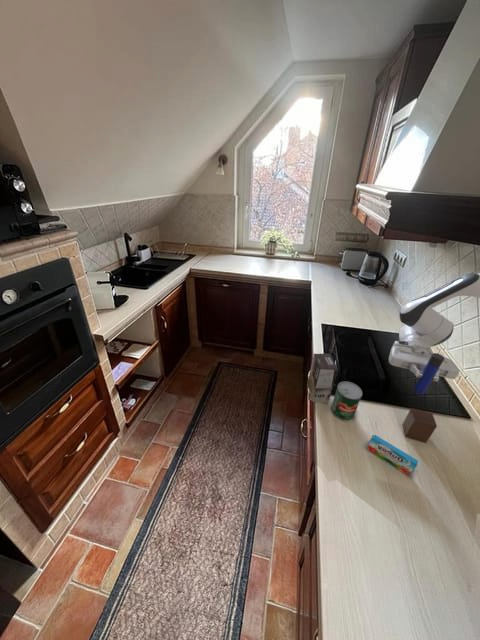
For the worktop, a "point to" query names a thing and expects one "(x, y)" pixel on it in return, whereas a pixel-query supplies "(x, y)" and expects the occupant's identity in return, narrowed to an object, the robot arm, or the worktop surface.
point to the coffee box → (322, 377)
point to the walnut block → (419, 425)
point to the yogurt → (392, 455)
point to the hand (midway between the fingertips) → (427, 377)
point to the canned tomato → (346, 400)
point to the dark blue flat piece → (428, 373)
